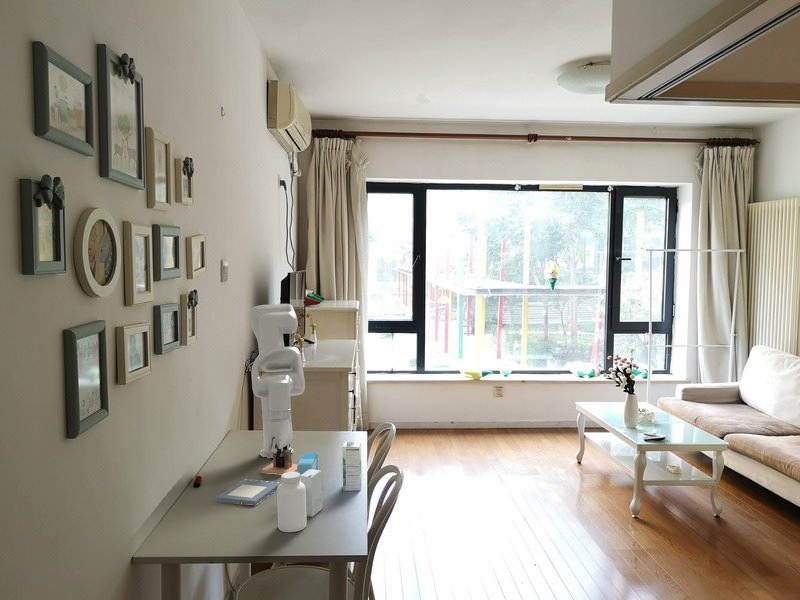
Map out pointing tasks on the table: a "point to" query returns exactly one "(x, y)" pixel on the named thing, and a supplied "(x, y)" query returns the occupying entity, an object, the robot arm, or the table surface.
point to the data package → (307, 462)
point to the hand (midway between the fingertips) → (282, 465)
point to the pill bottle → (291, 503)
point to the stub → (273, 469)
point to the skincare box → (312, 491)
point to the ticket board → (248, 492)
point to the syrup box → (352, 466)
